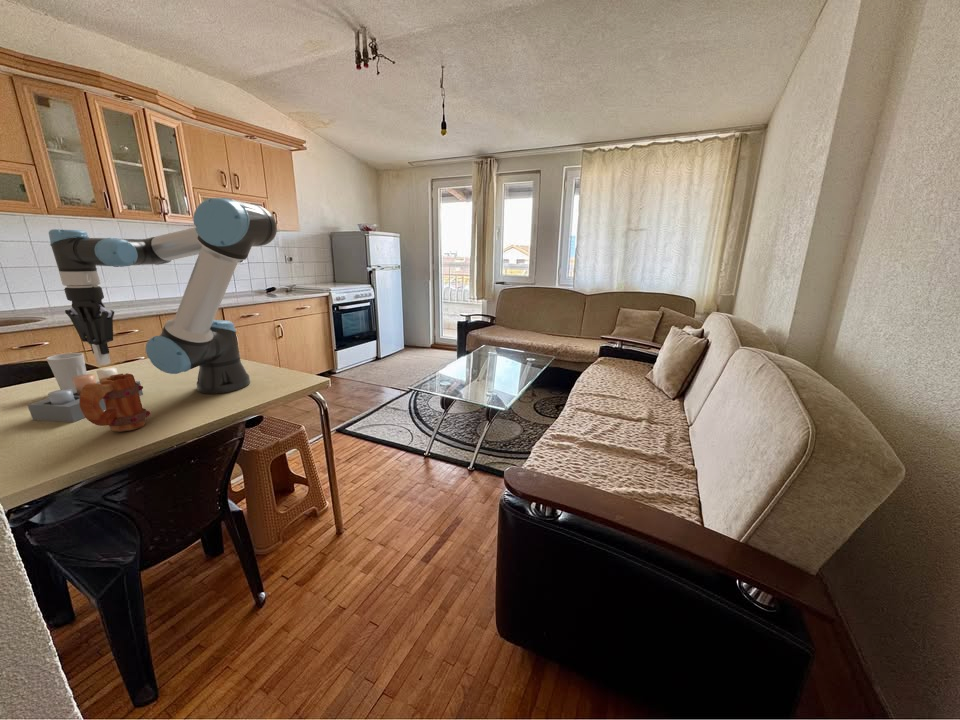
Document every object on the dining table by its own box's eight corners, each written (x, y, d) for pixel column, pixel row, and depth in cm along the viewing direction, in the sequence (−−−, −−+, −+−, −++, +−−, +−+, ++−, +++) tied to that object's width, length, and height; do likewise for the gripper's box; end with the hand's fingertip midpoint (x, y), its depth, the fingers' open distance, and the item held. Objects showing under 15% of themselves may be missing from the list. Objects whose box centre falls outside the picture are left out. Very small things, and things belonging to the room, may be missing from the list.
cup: (70, 397, 116) (58, 360, 112) (51, 394, 117) (39, 358, 114) (100, 388, 123) (90, 353, 120) (81, 386, 125) (71, 351, 121)
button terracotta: (103, 390, 111) (98, 374, 109) (87, 395, 106) (82, 379, 105) (89, 389, 111) (84, 373, 109) (73, 395, 107) (67, 378, 105)
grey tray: (143, 394, 119) (139, 381, 118) (74, 422, 100) (69, 406, 99) (108, 392, 120) (104, 379, 118) (32, 419, 101) (27, 404, 99)
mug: (128, 420, 102) (114, 368, 97) (160, 419, 103) (147, 368, 98) (77, 447, 88) (58, 388, 84) (114, 446, 89) (97, 388, 84)
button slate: (81, 405, 105) (76, 389, 104) (64, 412, 101) (58, 395, 99) (67, 405, 105) (61, 388, 104) (49, 411, 101) (43, 394, 100)
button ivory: (124, 382, 117) (120, 367, 115) (110, 387, 113) (106, 372, 111) (111, 382, 117) (107, 367, 116) (96, 387, 113) (92, 371, 111)
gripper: (117, 285, 109) (136, 361, 116) (75, 284, 110) (97, 359, 117) (90, 288, 102) (112, 369, 109) (46, 286, 103) (70, 366, 110)
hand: (104, 364), depth 113 cm, fingers closed
